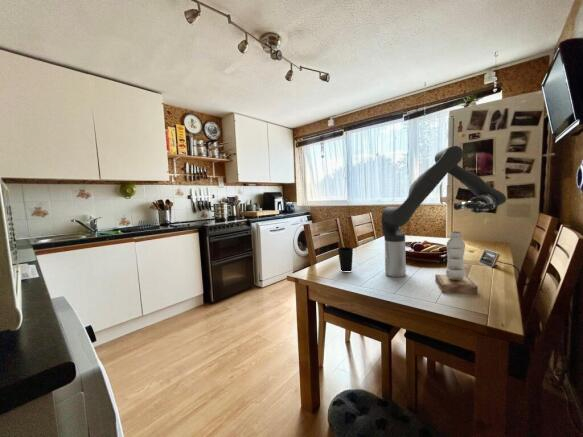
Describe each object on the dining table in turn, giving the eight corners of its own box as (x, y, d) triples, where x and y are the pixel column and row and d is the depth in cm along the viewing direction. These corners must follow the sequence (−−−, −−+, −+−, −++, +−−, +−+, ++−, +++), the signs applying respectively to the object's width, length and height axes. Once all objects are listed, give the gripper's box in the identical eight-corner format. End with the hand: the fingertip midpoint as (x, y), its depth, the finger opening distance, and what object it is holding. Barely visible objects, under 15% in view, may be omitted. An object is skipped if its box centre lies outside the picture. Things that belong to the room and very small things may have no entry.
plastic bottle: (442, 277, 108) (442, 231, 105) (457, 275, 108) (457, 230, 105) (452, 283, 101) (453, 234, 99) (468, 281, 102) (469, 232, 99)
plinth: (442, 292, 101) (442, 284, 101) (435, 281, 112) (435, 274, 112) (477, 294, 97) (477, 286, 97) (466, 282, 109) (466, 275, 108)
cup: (354, 273, 129) (353, 250, 127) (338, 273, 131) (337, 251, 129) (353, 268, 136) (352, 247, 135) (339, 268, 138) (338, 247, 136)
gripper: (463, 196, 122) (449, 199, 113) (500, 195, 111) (488, 198, 101) (463, 211, 123) (449, 215, 114) (499, 212, 112) (487, 217, 102)
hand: (467, 207), depth 108 cm, fingers open, 8 cm apart
